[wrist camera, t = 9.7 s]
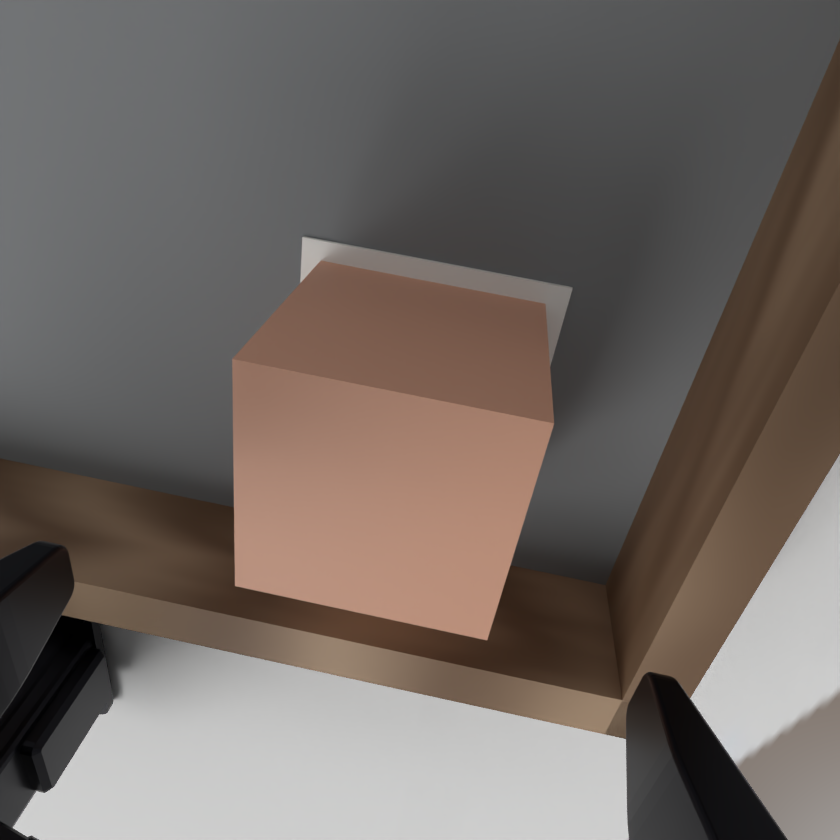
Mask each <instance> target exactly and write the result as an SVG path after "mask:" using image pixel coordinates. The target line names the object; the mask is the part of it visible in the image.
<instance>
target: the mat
mask: <svg viewBox="0 0 840 840" xmlns="http://www.w3.org/2000/svg"><path fill="white" fill-rule="evenodd" d="M839 40H840V0H0V458H1V459H6V460H10V461H15V462H20V463H25V464H29V465H34V466H39V467H44V468H49V469H53V470H58V471H63V472H68V473H72V474H77V475H82V476H87V477H92V478H96V479H101V480H106V481H111V482H115V483H120V484H125V485H130V486H134V487H139V488H144V489H149V490H154V491H158V492H163V493H168V494H173V495H177V496H182V497H187V498H192V499H197V500H201V501H206V502H211V503H216V504H220V505H225V506H230V507H234V468H233V384H232V359H233V358H234V356H235V355H236V354H237V353H238V352H239V351H240V350H241V349H242V348H243V346H244V345H245V344H246V343H247V342H248V341H249V340H250V339H251V338H252V336H253V335H254V334H255V333H256V332H257V331H258V330H259V329H260V328H261V326H262V325H263V324H264V323H265V322H266V321H267V320H268V319H269V317H270V316H271V315H272V314H273V313H274V312H275V311H276V310H277V309H278V307H279V306H280V305H281V304H282V303H283V302H284V301H285V300H286V299H287V297H288V296H289V295H290V294H291V293H292V292H293V291H294V290H295V289H296V287H297V286H298V285H299V284H300V283H301V282H302V281H303V280H304V279H305V277H306V276H307V275H308V274H309V273H310V272H311V271H312V270H313V268H314V267H315V266H316V265H317V264H318V263H319V262H320V261H326V262H331V263H336V264H342V265H347V266H352V267H357V268H362V269H368V270H373V271H378V272H383V273H388V274H394V275H399V276H404V277H409V278H414V279H420V280H425V281H430V282H435V283H440V284H446V285H451V286H456V287H461V288H466V289H472V290H477V291H482V292H487V293H492V294H498V295H503V296H508V297H513V298H518V299H524V300H529V301H534V302H539V303H544V304H546V318H547V332H548V345H549V359H550V373H551V386H552V400H553V414H554V426H553V429H552V432H551V436H550V439H549V442H548V445H547V448H546V452H545V455H544V458H543V461H542V465H541V468H540V471H539V474H538V478H537V481H536V484H535V487H534V491H533V494H532V497H531V500H530V503H529V507H528V510H527V513H526V516H525V520H524V523H523V526H522V529H521V533H520V536H519V539H518V542H517V545H516V549H515V552H514V555H513V558H512V562H511V565H512V566H516V567H521V568H526V569H531V570H535V571H540V572H545V573H550V574H555V575H559V576H564V577H569V578H574V579H578V580H583V581H588V582H593V583H597V584H602V585H606V583H607V581H608V578H609V576H610V574H611V571H612V569H613V567H614V564H615V562H616V560H617V557H618V555H619V553H620V550H621V548H622V546H623V543H624V541H625V539H626V536H627V534H628V532H629V529H630V527H631V525H632V522H633V520H634V518H635V515H636V513H637V511H638V508H639V506H640V504H641V501H642V499H643V497H644V494H645V492H646V490H647V487H648V485H649V483H650V480H651V478H652V476H653V473H654V471H655V469H656V466H657V464H658V462H659V459H660V457H661V455H662V452H663V450H664V448H665V445H666V443H667V441H668V438H669V436H670V434H671V431H672V429H673V427H674V424H675V422H676V420H677V417H678V415H679V413H680V410H681V408H682V406H683V403H684V401H685V399H686V396H687V394H688V392H689V389H690V387H691V385H692V382H693V380H694V378H695V375H696V373H697V371H698V368H699V366H700V364H701V361H702V359H703V357H704V354H705V352H706V350H707V347H708V345H709V343H710V340H711V338H712V336H713V333H714V331H715V329H716V326H717V324H718V322H719V319H720V317H721V315H722V312H723V310H724V308H725V305H726V303H727V301H728V298H729V296H730V294H731V291H732V289H733V287H734V284H735V282H736V280H737V277H738V275H739V273H740V270H741V268H742V266H743V263H744V261H745V259H746V256H747V254H748V252H749V249H750V247H751V245H752V242H753V240H754V238H755V235H756V233H757V231H758V228H759V226H760V224H761V221H762V219H763V217H764V214H765V212H766V210H767V208H768V205H769V203H770V201H771V198H772V196H773V194H774V191H775V189H776V187H777V184H778V182H779V180H780V177H781V175H782V173H783V170H784V168H785V166H786V163H787V161H788V159H789V156H790V154H791V152H792V149H793V147H794V145H795V142H796V140H797V138H798V135H799V133H800V131H801V128H802V126H803V124H804V121H805V119H806V117H807V114H808V112H809V110H810V107H811V105H812V103H813V100H814V98H815V96H816V93H817V91H818V89H819V86H820V84H821V82H822V79H823V77H824V75H825V72H826V70H827V68H828V65H829V63H830V61H831V58H832V56H833V54H834V51H835V49H836V47H837V44H838V42H839Z"/></svg>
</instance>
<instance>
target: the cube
mask: <svg viewBox="0 0 840 840" xmlns="http://www.w3.org/2000/svg"><path fill="white" fill-rule="evenodd" d="M232 384H233V468H234V551H235V586H237V587H242V588H246V589H251V590H256V591H260V592H265V593H270V594H274V595H279V596H283V597H288V598H293V599H297V600H302V601H307V602H311V603H316V604H321V605H325V606H330V607H334V608H339V609H344V610H348V611H353V612H358V613H362V614H367V615H372V616H376V617H381V618H386V619H390V620H395V621H399V622H404V623H409V624H413V625H418V626H423V627H427V628H432V629H437V630H441V631H446V632H450V633H455V634H460V635H464V636H469V637H474V638H478V639H483V640H487V639H488V636H489V633H490V630H491V626H492V623H493V620H494V617H495V613H496V610H497V607H498V604H499V600H500V597H501V594H502V591H503V587H504V584H505V581H506V578H507V575H508V571H509V568H510V565H511V562H512V558H513V555H514V552H515V549H516V545H517V542H518V539H519V536H520V533H521V529H522V526H523V523H524V520H525V516H526V513H527V510H528V507H529V503H530V500H531V497H532V494H533V491H534V487H535V484H536V481H537V478H538V474H539V471H540V468H541V465H542V461H543V458H544V455H545V452H546V448H547V445H548V442H549V439H550V436H551V432H552V429H553V426H554V414H553V400H552V386H551V373H550V359H549V345H548V332H547V318H546V304H544V303H539V302H534V301H529V300H524V299H518V298H513V297H508V296H503V295H498V294H492V293H487V292H482V291H477V290H472V289H466V288H461V287H456V286H451V285H446V284H440V283H435V282H430V281H425V280H420V279H414V278H409V277H404V276H399V275H394V274H388V273H383V272H378V271H373V270H368V269H362V268H357V267H352V266H347V265H342V264H336V263H331V262H326V261H320V262H319V263H318V264H317V265H316V266H315V267H314V268H313V270H312V271H311V272H310V273H309V274H308V275H307V276H306V277H305V279H304V280H303V281H302V282H301V283H300V284H299V285H298V286H297V287H296V289H295V290H294V291H293V292H292V293H291V294H290V295H289V296H288V297H287V299H286V300H285V301H284V302H283V303H282V304H281V305H280V306H279V307H278V309H277V310H276V311H275V312H274V313H273V314H272V315H271V316H270V317H269V319H268V320H267V321H266V322H265V323H264V324H263V325H262V326H261V328H260V329H259V330H258V331H257V332H256V333H255V334H254V335H253V336H252V338H251V339H250V340H249V341H248V342H247V343H246V344H245V345H244V346H243V348H242V349H241V350H240V351H239V352H238V353H237V354H236V355H235V356H234V358H233V359H232Z"/></svg>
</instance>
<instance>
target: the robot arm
mask: <svg viewBox="0 0 840 840" xmlns="http://www.w3.org/2000/svg"><path fill="white" fill-rule="evenodd" d="M74 584H75V582H74V576H73V571H72V566H71V561H70V557H69V552H68V550H67V548H66V547H65V546H63V545H60V544H56V543H51V542H46V541H37V542H34V543H32V544H30V545H28V546H26V547H23V548H21V549H19V550H17V551H15V552H13V553H11V554H9V555H7V556H5V557H3V558H1V559H0V840H38V839H37V838H35V837H33V836H29V837H26V836H25V835H23V834H21V833H20V832H18V831H16V830H15V829H13V826H14V825H15V823H16V822H17V820H18V819H19V817H20V815H21V814H22V812H23V811H24V809H25V808H26V806H27V805H28V803H29V801H30V800H31V798H32V797H33V795H34V794H35V792H36V791H39V792H43V793H45V792H47V791H48V790H50V789H51V788H53V787H54V786H55V784H56V783H57V781H58V779H59V778H60V776H61V775H62V773H63V771H64V770H65V768H66V767H67V765H68V763H69V762H70V760H71V759H72V757H73V755H74V754H75V752H76V751H77V749H78V747H79V746H80V744H81V743H82V741H83V739H84V738H85V736H86V735H87V733H88V731H89V730H90V728H91V727H92V725H93V723H94V722H95V720H96V719H97V717H98V715H99V714H106V713H107V712H108V711H109V709H110V707H111V706H112V704H113V696H112V690H111V684H110V679H109V673H108V668H107V662H106V657H105V653H104V647H103V642H102V636H101V631H100V625H99V623H96V622H91V621H87V620H82V619H78V618H73V617H69V616H64V615H62V613H63V611H64V609H65V608H66V606H67V604H68V602H69V600H70V598H71V596H72V594H73V591H74ZM626 765H627V817H628V832H629V840H788V839H787V838H786V836H785V835H784V833H783V832H782V831H781V830H780V828H779V826H778V825H777V823H776V822H775V820H774V819H773V818H772V816H771V815H770V813H769V812H768V810H767V809H766V807H765V806H764V805H763V803H762V802H761V800H760V799H759V797H758V796H757V794H756V793H755V792H754V790H753V789H752V787H751V786H750V784H749V783H748V782H747V780H746V779H745V777H744V776H743V774H742V773H741V771H740V770H739V769H738V767H737V766H736V764H735V763H734V761H733V760H732V758H731V757H730V755H729V754H728V753H727V751H726V750H725V748H724V747H723V745H722V744H721V742H720V741H719V740H718V738H717V737H716V735H715V734H714V732H713V731H712V729H711V728H710V727H709V725H708V724H707V722H706V721H705V719H704V718H703V716H702V715H701V714H700V712H699V711H698V709H697V708H696V706H695V705H694V703H693V702H692V701H691V699H690V698H689V696H688V695H687V693H686V692H685V690H684V689H683V688H682V686H681V685H680V683H679V682H678V681H677V680H676V679H675V678H673V677H671V676H668V675H663V674H659V673H654V672H647V673H646V674H644V676H643V677H642V679H641V681H640V683H639V685H638V686H637V688H636V690H635V692H634V694H633V696H632V698H631V700H630V702H629V704H628V707H627V712H626Z"/></svg>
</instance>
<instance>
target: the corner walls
mask: <svg viewBox="0 0 840 840" xmlns="http://www.w3.org/2000/svg"><path fill="white" fill-rule="evenodd" d="M839 454H840V40H839V42H838V44H837V47H836V49H835V51H834V54H833V56H832V58H831V61H830V63H829V65H828V68H827V70H826V72H825V75H824V77H823V79H822V82H821V84H820V86H819V89H818V91H817V93H816V96H815V98H814V100H813V103H812V105H811V107H810V110H809V112H808V114H807V117H806V119H805V121H804V124H803V126H802V128H801V131H800V133H799V135H798V138H797V140H796V142H795V145H794V147H793V149H792V152H791V154H790V156H789V159H788V161H787V163H786V166H785V168H784V170H783V173H782V175H781V177H780V180H779V182H778V184H777V187H776V189H775V191H774V194H773V196H772V198H771V201H770V203H769V205H768V208H767V210H766V212H765V214H764V217H763V219H762V221H761V224H760V226H759V228H758V231H757V233H756V235H755V238H754V240H753V242H752V245H751V247H750V249H749V252H748V254H747V256H746V259H745V261H744V263H743V266H742V268H741V270H740V273H739V275H738V277H737V280H736V282H735V284H734V287H733V289H732V291H731V294H730V296H729V298H728V301H727V303H726V305H725V308H724V310H723V312H722V315H721V317H720V319H719V322H718V324H717V326H716V329H715V331H714V333H713V336H712V338H711V340H710V343H709V345H708V347H707V350H706V352H705V354H704V357H703V359H702V361H701V364H700V366H699V368H698V371H697V373H696V375H695V378H694V380H693V382H692V385H691V387H690V389H689V392H688V394H687V396H686V399H685V401H684V403H683V406H682V408H681V410H680V413H679V415H678V417H677V420H676V422H675V424H674V427H673V429H672V431H671V434H670V436H669V438H668V441H667V443H666V445H665V448H664V450H663V452H662V455H661V457H660V459H659V462H658V464H657V466H656V469H655V471H654V473H653V476H652V478H651V480H650V483H649V485H648V487H647V490H646V492H645V494H644V497H643V499H642V501H641V504H640V506H639V508H638V511H637V513H636V515H635V518H634V520H633V522H632V525H631V527H630V529H629V532H628V534H627V536H626V539H625V541H624V543H623V546H622V548H621V550H620V553H619V555H618V557H617V560H616V562H615V564H614V567H613V569H612V571H611V574H610V576H609V578H608V581H607V583H606V585H602V584H597V583H593V582H588V581H583V580H578V579H574V578H569V577H564V576H559V575H555V574H550V573H545V572H540V571H535V570H531V569H526V568H521V567H516V566H512V565H510V568H509V571H508V575H507V578H506V581H505V584H504V587H503V591H502V594H501V597H500V600H499V604H498V607H497V610H496V613H495V617H494V620H493V623H492V626H491V630H490V633H489V636H488V639H487V640H483V639H478V638H474V637H469V636H464V635H460V634H455V633H450V632H446V631H441V630H437V629H432V628H427V627H423V626H418V625H413V624H409V623H404V622H399V621H395V620H390V619H386V618H381V617H376V616H372V615H367V614H362V613H358V612H353V611H348V610H344V609H339V608H334V607H330V606H325V605H321V604H316V603H311V602H307V601H302V600H297V599H293V598H288V597H283V596H279V595H274V594H270V593H265V592H260V591H256V590H251V589H246V588H242V587H237V586H235V551H234V507H230V506H225V505H220V504H216V503H211V502H206V501H201V500H197V499H192V498H187V497H182V496H177V495H173V494H168V493H163V492H158V491H154V490H149V489H144V488H139V487H134V486H130V485H125V484H120V483H115V482H111V481H106V480H101V479H96V478H92V477H87V476H82V475H77V474H72V473H68V472H63V471H58V470H53V469H49V468H44V467H39V466H34V465H29V464H25V463H20V462H15V461H10V460H6V459H1V458H0V559H1V558H3V557H5V556H7V555H9V554H11V553H13V552H15V551H17V550H19V549H21V548H23V547H26V546H28V545H30V544H32V543H34V542H37V541H46V542H51V543H56V544H60V545H63V546H65V547H66V548H67V550H68V552H69V557H70V561H71V566H72V571H73V576H74V582H75V584H74V591H73V594H72V596H71V598H70V600H69V602H68V604H67V606H66V608H65V609H64V611H63V613H62V615H64V616H69V617H73V618H78V619H82V620H87V621H91V622H96V623H100V624H105V625H110V626H114V627H119V628H123V629H128V630H132V631H137V632H141V633H146V634H151V635H155V636H160V637H164V638H169V639H173V640H178V641H182V642H187V643H192V644H196V645H201V646H205V647H210V648H214V649H219V650H223V651H228V652H233V653H237V654H242V655H246V656H251V657H255V658H260V659H264V660H269V661H274V662H278V663H283V664H287V665H292V666H296V667H301V668H305V669H310V670H315V671H319V672H324V673H328V674H333V675H337V676H342V677H346V678H351V679H356V680H360V681H365V682H369V683H374V684H378V685H383V686H387V687H392V688H397V689H401V690H406V691H410V692H415V693H419V694H424V695H428V696H433V697H438V698H442V699H447V700H451V701H456V702H460V703H465V704H469V705H474V706H479V707H483V708H488V709H492V710H497V711H501V712H506V713H510V714H515V715H520V716H524V717H529V718H533V719H538V720H542V721H547V722H551V723H556V724H561V725H565V726H570V727H574V728H579V729H583V730H588V731H592V732H597V733H602V734H606V735H611V736H615V737H620V738H624V739H626V712H627V707H628V704H629V702H630V700H631V698H632V696H633V694H634V692H635V690H636V688H637V686H638V685H639V683H640V681H641V679H642V677H643V676H644V674H646V673H647V672H654V673H659V674H663V675H668V676H671V677H673V678H675V679H676V680H677V681H678V682H679V683H680V685H681V686H682V688H683V689H684V690H685V692H686V693H687V695H688V696H689V698H690V697H691V696H692V694H693V693H694V691H695V689H696V688H697V686H698V684H699V683H700V681H701V680H702V678H703V676H704V675H705V673H706V671H707V670H708V668H709V666H710V665H711V663H712V662H713V660H714V658H715V657H716V655H717V653H718V652H719V650H720V648H721V647H722V645H723V644H724V642H725V640H726V639H727V637H728V635H729V634H730V632H731V631H732V629H733V627H734V626H735V624H736V622H737V621H738V619H739V617H740V616H741V614H742V613H743V611H744V609H745V608H746V606H747V604H748V603H749V601H750V599H751V598H752V596H753V595H754V593H755V591H756V590H757V588H758V586H759V585H760V583H761V582H762V580H763V578H764V577H765V575H766V573H767V572H768V570H769V568H770V567H771V565H772V564H773V562H774V560H775V559H776V557H777V555H778V554H779V552H780V550H781V549H782V547H783V546H784V544H785V542H786V541H787V539H788V537H789V536H790V534H791V533H792V531H793V529H794V528H795V526H796V524H797V523H798V521H799V519H800V518H801V516H802V515H803V513H804V511H805V510H806V508H807V506H808V505H809V503H810V501H811V500H812V498H813V497H814V495H815V493H816V492H817V490H818V488H819V487H820V485H821V484H822V482H823V480H824V479H825V477H826V475H827V474H828V472H829V470H830V469H831V467H832V466H833V464H834V462H835V461H836V459H837V457H838V456H839Z"/></svg>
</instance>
